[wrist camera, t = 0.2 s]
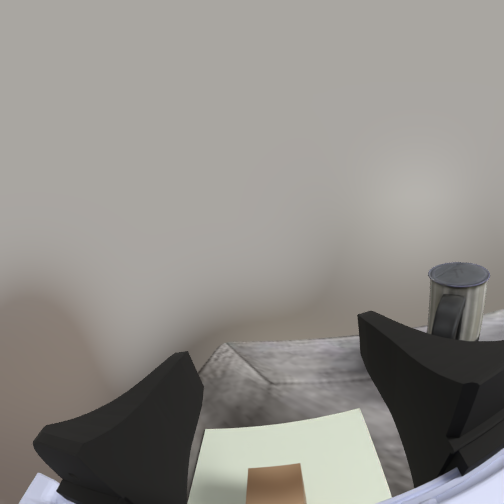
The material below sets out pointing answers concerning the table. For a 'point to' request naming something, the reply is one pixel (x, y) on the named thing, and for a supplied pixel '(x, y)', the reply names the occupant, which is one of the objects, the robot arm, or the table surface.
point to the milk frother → (457, 300)
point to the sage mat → (293, 460)
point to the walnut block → (276, 485)
